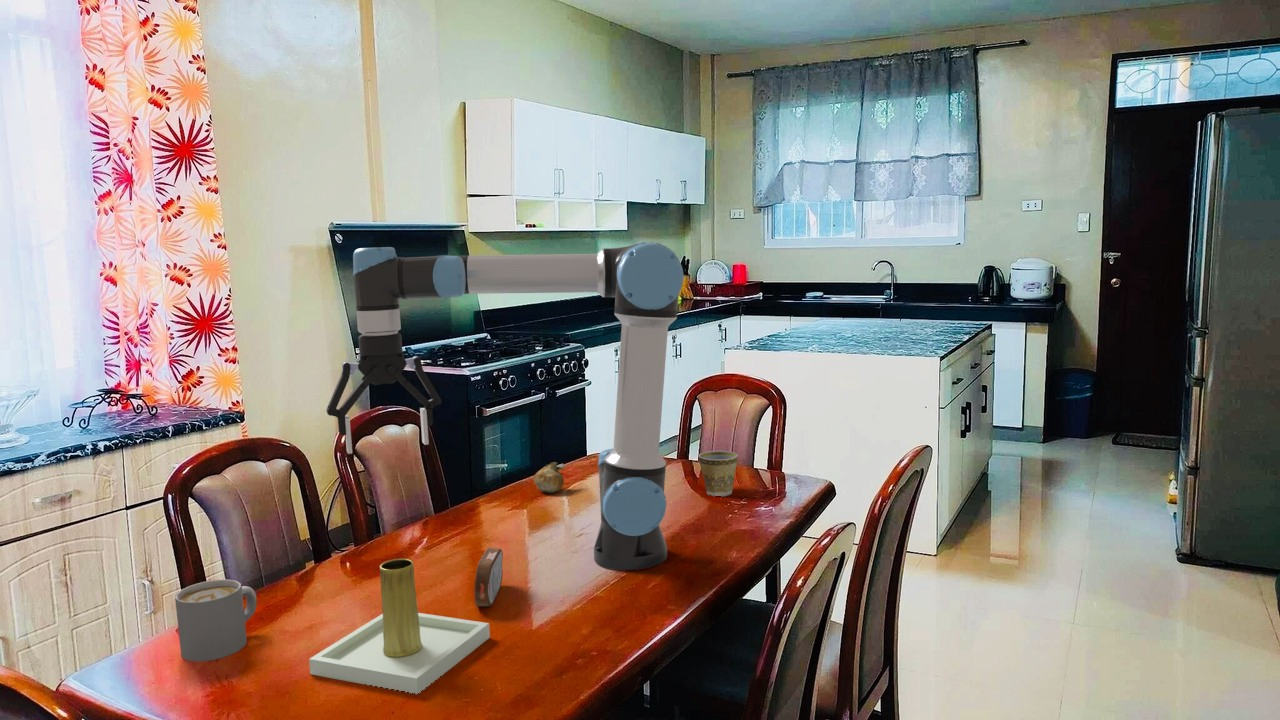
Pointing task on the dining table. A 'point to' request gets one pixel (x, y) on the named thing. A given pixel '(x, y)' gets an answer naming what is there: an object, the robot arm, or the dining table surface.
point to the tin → (488, 577)
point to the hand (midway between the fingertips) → (388, 447)
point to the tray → (369, 665)
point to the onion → (549, 478)
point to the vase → (399, 608)
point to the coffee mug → (213, 619)
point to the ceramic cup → (718, 471)
